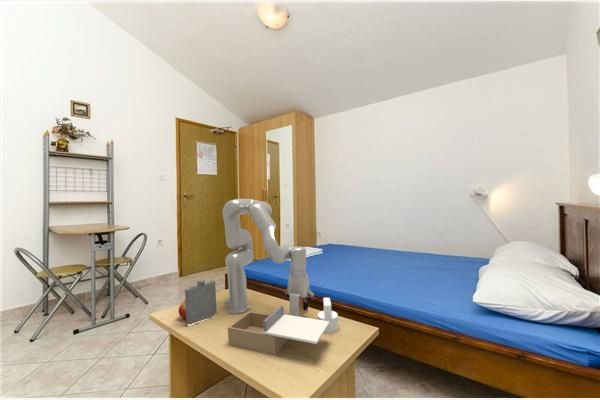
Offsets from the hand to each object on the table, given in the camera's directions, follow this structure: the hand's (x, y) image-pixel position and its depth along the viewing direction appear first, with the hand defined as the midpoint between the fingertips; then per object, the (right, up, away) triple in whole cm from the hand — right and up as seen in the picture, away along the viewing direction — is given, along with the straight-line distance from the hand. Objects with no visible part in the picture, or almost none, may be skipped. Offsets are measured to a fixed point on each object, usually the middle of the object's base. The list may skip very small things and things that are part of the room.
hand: (299, 308), depth 129 cm
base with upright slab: (+13, -5, -10) cm, 17 cm away
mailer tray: (-16, -6, -17) cm, 24 cm away
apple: (-57, -8, +6) cm, 58 cm away
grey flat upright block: (-48, -7, +3) cm, 49 cm away
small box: (0, -3, 0) cm, 3 cm away
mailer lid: (-1, +2, -24) cm, 24 cm away
